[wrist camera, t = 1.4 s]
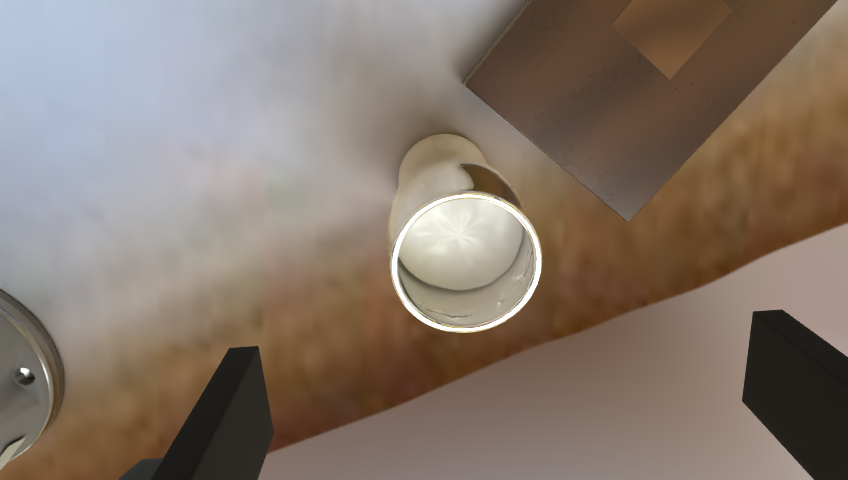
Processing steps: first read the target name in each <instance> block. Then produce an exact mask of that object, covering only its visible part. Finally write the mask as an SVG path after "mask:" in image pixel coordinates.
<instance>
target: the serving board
mask: <svg viewBox="0 0 848 480" xmlns="http://www.w3.org/2000/svg"><path fill="white" fill-rule="evenodd" d="M836 1H837V0H528V1H527V2H526V3H525V5H524V6H523V7H522V8H521V10H520V11H519V12H518V13H517V15H516V16H515V17H514V18H513V20H512V21H511V22H510V23H509V25H508V26H507V27H506V28H505V30H504V31H503V32H502V33H501V35H500V36H499V37H498V39H497V40H496V41H495V42H494V44H493V45H492V46H491V47H490V49H489V50H488V51H487V52H486V54H485V55H484V56H483V57H482V59H481V60H480V61H479V63H478V64H477V65H476V66H475V68H474V69H473V70H472V71H471V73H470V74H469V75H468V76H467V78H466V79H465V80H464V81H463V84H464V85H465V86H466V87H467V88H469V89H470V90H471V91H472V92H473V93H475V94H476V95H477V96H478V97H479V98H481V99H482V100H483V101H484V102H485V103H486V104H488V105H489V106H490V107H491V108H492V109H494V110H495V111H496V112H497V113H498V114H500V115H501V116H502V117H503V118H504V119H505V120H507V121H508V122H509V123H510V124H511V125H513V126H514V127H515V128H516V129H517V130H519V131H520V132H521V133H522V134H523V135H525V136H526V137H527V138H528V139H529V140H530V141H532V142H533V143H534V144H535V145H536V146H538V147H539V148H540V149H541V150H542V151H544V152H545V153H546V154H547V155H548V156H549V157H551V158H552V159H553V160H554V161H555V162H557V163H558V164H559V165H560V166H561V167H563V168H564V169H565V170H566V171H567V172H569V173H570V174H571V175H572V176H573V177H574V178H576V179H577V180H578V181H579V182H580V183H582V184H583V185H584V186H585V187H586V188H588V189H589V190H590V191H591V192H592V193H594V194H595V195H596V196H597V197H598V198H599V199H601V200H602V201H603V202H604V203H605V204H607V205H608V206H609V207H610V208H611V209H613V210H614V211H615V212H616V213H617V214H618V215H620V216H621V217H622V218H623V219H625V220H626V221H627V222H629V221H630V220H631V219H632V218H633V217H634V216H635V215H636V214H637V213H638V212H639V211H640V210H641V209H642V207H643V206H644V205H645V204H646V203H647V202H648V201H649V200H650V199H651V198H652V197H653V196H654V195H655V194H656V193H657V192H658V190H659V189H660V188H661V187H662V186H663V185H664V184H665V183H666V182H667V181H668V180H669V179H670V178H671V177H672V176H673V175H674V173H675V172H676V171H677V170H678V169H679V168H680V167H681V166H682V165H683V164H684V163H685V162H686V161H687V160H688V159H689V158H690V156H691V155H692V154H693V153H694V152H695V151H696V150H697V149H698V148H699V147H700V146H701V145H702V144H703V143H704V142H705V141H706V139H707V138H708V137H709V136H710V135H711V134H712V133H713V132H714V131H715V130H716V129H717V128H718V127H719V126H720V125H721V124H722V122H723V121H724V120H725V119H726V118H727V117H728V116H729V115H730V114H731V113H732V112H733V111H734V110H735V109H736V108H737V107H738V105H739V104H740V103H741V102H742V101H743V100H744V99H745V98H746V97H747V96H748V95H749V94H750V93H751V92H752V91H753V90H754V89H755V87H756V86H757V85H758V84H759V83H760V82H761V81H762V80H763V79H764V78H765V77H766V76H767V75H768V74H769V73H770V72H771V70H772V69H773V68H774V67H775V66H776V65H777V64H778V63H779V62H780V61H781V60H782V59H783V58H784V57H785V56H786V55H787V53H788V52H789V51H790V50H791V49H792V48H793V47H794V46H795V45H796V44H797V43H798V42H799V41H800V40H801V39H802V38H803V36H804V35H805V34H806V33H807V32H808V31H809V30H810V29H811V28H812V27H813V26H814V25H815V24H816V23H817V22H818V21H819V19H820V18H821V17H822V16H823V15H824V14H825V13H826V12H827V11H828V10H829V9H830V8H831V7H832V6H833V5H834V4H835V2H836Z"/></svg>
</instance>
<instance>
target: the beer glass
mask: <svg viewBox="0 0 848 480" xmlns="http://www.w3.org/2000/svg"><path fill="white" fill-rule="evenodd" d="M398 184H399V190H398V192H397V194H396V196H395V198H394V200H393V203H392V206H391V209H390V214H389V220H388V226H387V248H388V256H389V262H390V276H391V280H392V284H393V287H394V289H395V292H396V294H397V296H398V297H399V299H400V301H401V302H402V304H403V305H404V306H405V307H406V308H407V310H408V311H409V312H410V313H411V314H413V315H414V316H415V317H416V318H418V319H419V320H421V321H422V322H424V323H426V324H428V325H430V326H432V327H434V328H437V329H440V330H444V331H448V332H456V333H470V332H478V331H482V330H486V329H489V328H492V327H495V326H497V325H499V324H501V323H503V322H505V321H507V320H508V319H510V318H511V317H512V316H514V315H515V314H516V313H517V312H518V311H520V310H521V309H522V308H523V306H524V305H525V304H526V303H527V302H528V300H529V299H530V297H531V296H532V294H533V293H534V291H535V289H536V286H537V284H538V281H539V278H540V274H541V269H542V250H541V244H540V241H539V238H538V235H537V233H536V230H535V228H534V227H533V224H532V221H531V219H530V216H529V214H528V212H527V209H526V207H525V205H524V204H523V202H522V200H521V198H520V196H519V195H518V193H517V192H516V191H515V189H514V188H513V187H512V186H511V184H510V183H509V182H508V181H507V180H506V179H505V178H504V177H503V176H502V175H501V174H500V173H499V172H497V171H496V170H494V169H493V168H491V167H490V166H488V164H487V161H486V159H485V157H484V155H483V154H482V152H481V151H480V150H479V149H478V148H477V147H476V146H475V145H474V144H473V143H472V142H470V141H469V140H467V139H465V138H463V137H461V136H458V135H453V134H436V135H432V136H429V137H426V138H424V139H422V140H421V141H419V142H418V143H416V144H415V145H414V146H413V147H412V148H411V149H410V150H409V151H408V152H407V154H406V155H405V157H404V158H403V160H402V163H401V165H400V169H399V174H398Z"/></svg>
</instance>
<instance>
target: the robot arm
mask: <svg viewBox="0 0 848 480" xmlns="http://www.w3.org/2000/svg"><path fill="white" fill-rule="evenodd" d="M63 393H64V374H63V369H62V364H61V361H60V358H59V355H58V353H57V350H56V348H55V346H54V344H53V342H52V340H51V338H50V337H49V335H48V334H47V332H46V331H45V329H44V328H43V327H42V326H41V324H40V323H39V322H38V321H37V320H36V319H35V317H34V316H33V315H32V314H31V313H30V312H29V311H27V310H26V309H25V308H24V307H23V306H22V305H21V304H19V303H18V302H17V301H15V300H14V299H13V298H11V297H10V296H8V295H7V294H5V293H4V292H2V291H0V470H1V469H2V468H3V467H4V466H5V464H6V463H7V462H8V461H10V460H12V459H14V458H16V457H17V456H19V455H20V454H22V453H23V452H24V451H26V450H27V449H28V448H29V447H30V446H31V445H32V444H33V443H34V442H35V441H36V440H37V439H38V438H39V437H40V436H41V435H42V434H43V433H44V431H45V430H46V429H47V428H48V427H49V426H50V424H51V423H52V422H53V420H54V419H55V417H56V415H57V413H58V411H59V409H60V406H61V403H62V399H63ZM742 401H743V403H744V404H745V405H746V406H747V407H748V408H749V409H750V410H751V411H752V412H753V413H754V415H755V416H756V417H757V418H758V419H759V420H760V421H761V422H762V423H763V424H764V425H765V426H766V428H767V429H768V430H769V431H770V432H771V433H772V434H773V435H774V436H775V437H776V439H777V440H778V441H779V442H780V443H781V444H782V445H783V446H784V447H785V448H786V449H787V451H788V452H789V453H790V454H791V455H792V456H793V457H794V458H795V459H796V460H797V462H798V463H799V464H800V465H801V466H802V467H803V468H804V469H805V470H806V471H807V472H808V473H809V475H810V476H811V477H812V478H813V479H814V480H848V357H847V356H845V355H844V354H843V353H841V352H840V351H838V350H837V349H836V348H834V347H833V346H832V345H830V344H829V343H828V342H826V341H824V340H823V339H822V338H821V337H819V336H818V335H816V334H815V333H814V332H812V331H811V330H810V329H808V328H807V327H805V326H804V325H803V324H801V323H800V322H799V321H797V320H796V319H794V318H793V317H792V316H790V315H789V314H788V313H786V312H785V311H783V310H768V311H755V312H753V316H752V325H751V332H750V341H749V349H748V357H747V366H746V373H745V381H744V389H743V398H742ZM273 434H274V431H273V425H272V419H271V414H270V408H269V403H268V397H267V392H266V386H265V381H264V375H263V369H262V364H261V358H260V353H259V347H258V346H252V347H238V348H229V350H228V352H227V353H226V355H225V357H224V358H223V360H222V361H221V363H220V365H219V366H218V368H217V370H216V371H215V373H214V375H213V376H212V378H211V380H210V381H209V383H208V385H207V386H206V388H205V390H204V391H203V393H202V395H201V396H200V398H199V400H198V401H197V403H196V405H195V406H194V408H193V410H192V411H191V413H190V415H189V416H188V418H187V420H186V421H185V423H184V425H183V426H182V428H181V430H180V431H179V433H178V435H177V436H176V438H175V440H174V441H173V443H172V445H171V446H170V448H169V450H168V451H167V453H166V455H165V456H164V458H158V459H143V460H141V461H139V462H138V463H137V464H136V465H135V466H133V467H132V468H131V469H130V470H129V471H127V472H126V473H125V474H124V475H123V476H121V477H120V479H119V480H257V479H258V476H259V474H260V471H261V468H262V465H263V463H264V460H265V457H266V454H267V451H268V449H269V446H270V443H271V440H272V437H273Z"/></svg>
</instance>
